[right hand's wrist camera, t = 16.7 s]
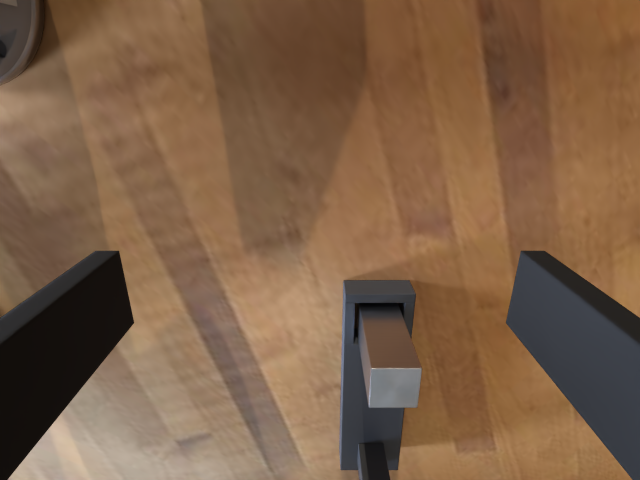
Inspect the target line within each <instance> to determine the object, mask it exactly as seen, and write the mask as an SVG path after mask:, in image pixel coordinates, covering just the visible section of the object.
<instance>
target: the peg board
mask: <svg viewBox="0 0 640 480" xmlns="http://www.w3.org/2000/svg"><path fill="white" fill-rule="evenodd" d="M415 298H416V294H415V291H414V289H413V287H412V285H411V283H410V281H409V280H344V282H343V323H342V364H341V406H340V447H339V450H340V468H341V470H358V472H359V480H390V476H389V470H398V462H399V453H400V443H401V433H402V424H403V414H404V408H369V405H368V399H367V393H366V386H365V380H364V374H363V367H362V361H361V355H360V348H359V342H358V335H357V329H356V328H354V316H355V303H398V305H399V308H400V311H401V313H402V316H403V319H404V321H405V324H406V327H407V329H408V332H409V335H410V337H411V335H412V326H413V316H414V306H415Z"/></svg>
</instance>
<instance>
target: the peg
mask: <svg viewBox="0 0 640 480" xmlns="http://www.w3.org/2000/svg"><path fill="white" fill-rule="evenodd" d="M356 329H357V335H358V342H359V348H360V355H361V361H362V367H363V374H364V380H365V386H366V393H367V399H368V405H369V408H417V406H418V398H419V390H420V381H421V373H422V367H421V364H420V362H419V359H418V356H417V354H416V351H415V348H414V346H413V343H412V340H411V337H410V335H409V332H408V329H407V327H406V324H405V321H404V319H403V316H402V313H401V311H400V308H399V305H398V303H357V306H356Z"/></svg>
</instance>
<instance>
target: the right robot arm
mask: <svg viewBox="0 0 640 480" xmlns="http://www.w3.org/2000/svg"><path fill="white" fill-rule="evenodd" d="M43 27H44V2H43V0H0V85H2V84H4V83H7V82H9V81H11V80H12V79H14V78H16V77H17V76H18V75H19V74H21V73H22V72H23V71H24V70H25V69H26V68H27V66H28V65H29V64H30V62H31V61H32V59H33V58H34V56H35V54H36V52H37V50H38V47H39V45H40V41H41V38H42V33H43ZM133 324H134V320H133V315H132V311H131V306H130V301H129V296H128V292H127V287H126V282H125V277H124V273H123V268H122V263H121V258H120V253H119V251H95V252H93V253H92V254H90V255H89V256H88V257H86V258H85V259H83V260H82V261H80V262H79V263H78V264H76V265H75V266H73V267H72V268H70V269H69V270H68V271H66V272H65V273H63V274H62V275H61V276H59V277H58V278H56V279H55V280H53V281H52V282H51V283H49V284H48V285H46V286H45V287H43V288H42V289H41V290H39V291H38V292H36V293H35V294H34V295H32V296H31V297H29V298H28V299H26V300H25V301H24V302H22V303H21V304H19V305H18V306H17V307H15V308H14V309H12V310H11V311H9V312H8V313H7V314H5V315H4V316H2V317H1V318H0V480H7V479H8V478H9V477H10V476H11V474H12V473H13V472H14V471H15V470H16V468H17V467H18V466H19V465H20V463H21V462H22V461H23V460H24V458H25V457H26V456H27V455H28V453H29V452H30V451H31V450H32V448H33V447H34V446H35V445H36V444H37V442H38V441H39V440H40V439H41V437H42V436H43V435H44V434H45V432H46V431H47V430H48V429H49V427H50V426H51V425H52V424H53V423H54V421H55V420H56V419H57V418H58V416H59V415H60V414H61V413H62V411H63V410H64V409H65V408H66V406H67V405H68V404H69V403H70V401H71V400H72V399H73V398H74V397H75V395H76V394H77V393H78V392H79V390H80V389H81V388H82V387H83V385H84V384H85V383H86V382H87V380H88V379H89V378H90V377H91V375H92V374H93V373H94V372H95V371H96V369H97V368H98V367H99V366H100V364H101V363H102V362H103V361H104V359H105V358H106V357H107V356H108V354H109V353H110V352H111V351H112V350H113V348H114V347H115V346H116V345H117V343H118V342H119V341H120V340H121V338H122V337H123V336H124V335H125V333H126V332H127V331H128V330H129V328H130V327H131V326H132V325H133ZM506 324H507V325H508V326H509V327H510V328H511V330H512V331H513V332H514V333H515V335H516V336H517V337H518V338H519V340H520V341H521V342H522V343H523V345H524V346H525V347H526V348H527V350H528V351H529V352H530V353H531V354H532V356H533V357H534V358H535V359H536V361H537V362H538V363H539V364H540V366H541V367H542V368H543V369H544V371H545V372H546V373H547V374H548V375H549V377H550V378H551V379H552V380H553V382H554V383H555V384H556V385H557V387H558V388H559V389H560V390H561V392H562V393H563V394H564V395H565V397H566V398H567V399H568V400H569V401H570V403H571V404H572V405H573V406H574V408H575V409H576V410H577V411H578V413H579V414H580V415H581V416H582V418H583V419H584V420H585V421H586V423H587V424H588V425H589V426H590V427H591V429H592V430H593V431H594V432H595V434H596V435H597V436H598V437H599V439H600V440H601V441H602V442H603V444H604V445H605V446H606V447H607V448H608V450H609V451H610V452H611V453H612V455H613V456H614V457H615V458H616V460H617V461H618V462H619V463H620V465H621V466H622V467H623V468H624V470H625V471H626V472H627V473H628V474H629V476H630V477H631V478H632V479H633V480H640V318H639V317H638V316H636V315H635V314H633V313H632V312H631V311H629V310H628V309H626V308H625V307H623V306H622V305H621V304H619V303H618V302H616V301H615V300H614V299H612V298H611V297H609V296H608V295H606V294H605V293H604V292H602V291H601V290H599V289H598V288H597V287H595V286H594V285H592V284H591V283H589V282H588V281H587V280H585V279H584V278H582V277H581V276H579V275H578V274H577V273H575V272H574V271H572V270H571V269H570V268H568V267H567V266H565V265H564V264H562V263H561V262H560V261H558V260H557V259H555V258H554V257H552V256H551V255H550V254H548V253H547V252H545V251H521V253H520V258H519V263H518V268H517V272H516V277H515V282H514V287H513V292H512V296H511V301H510V306H509V311H508V315H507V320H506Z"/></svg>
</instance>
